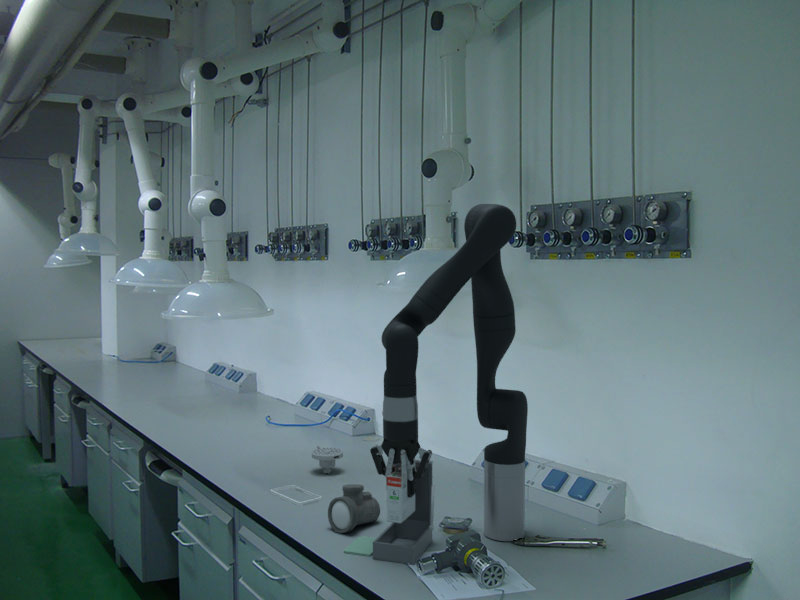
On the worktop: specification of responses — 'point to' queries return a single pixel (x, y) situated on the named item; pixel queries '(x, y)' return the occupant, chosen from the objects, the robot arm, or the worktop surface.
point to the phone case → (273, 491)
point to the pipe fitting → (352, 509)
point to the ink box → (399, 495)
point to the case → (410, 525)
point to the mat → (361, 546)
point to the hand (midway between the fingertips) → (401, 494)
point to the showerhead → (327, 457)
